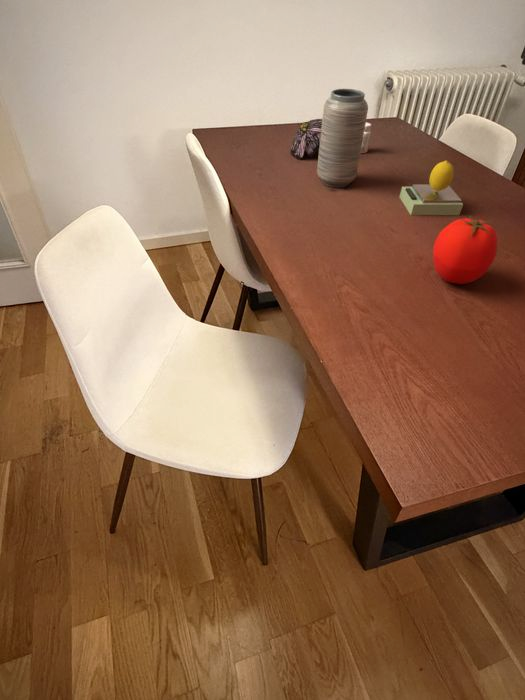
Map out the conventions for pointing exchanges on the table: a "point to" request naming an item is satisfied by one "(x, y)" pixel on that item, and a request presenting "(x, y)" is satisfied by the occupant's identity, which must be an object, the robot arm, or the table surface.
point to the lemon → (441, 176)
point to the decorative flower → (307, 139)
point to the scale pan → (435, 194)
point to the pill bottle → (366, 138)
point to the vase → (341, 137)
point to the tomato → (464, 250)
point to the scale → (427, 205)
